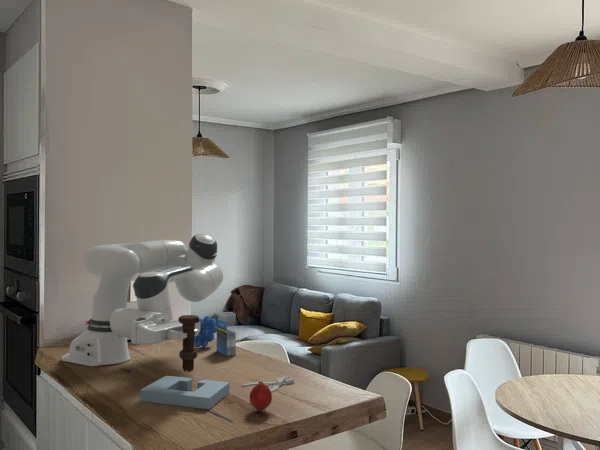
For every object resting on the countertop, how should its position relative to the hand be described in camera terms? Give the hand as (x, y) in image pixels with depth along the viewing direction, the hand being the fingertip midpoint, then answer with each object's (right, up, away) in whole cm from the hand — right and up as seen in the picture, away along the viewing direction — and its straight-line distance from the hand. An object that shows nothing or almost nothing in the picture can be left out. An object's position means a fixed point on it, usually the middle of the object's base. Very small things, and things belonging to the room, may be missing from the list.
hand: (191, 334), depth 149 cm
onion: (+20, -18, -9) cm, 28 cm away
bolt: (-1, -10, +1) cm, 10 cm away
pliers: (+22, -18, +13) cm, 31 cm away
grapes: (-7, -17, +58) cm, 61 cm away
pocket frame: (-2, -17, +1) cm, 18 cm away
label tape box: (+3, -17, +49) cm, 52 cm away
